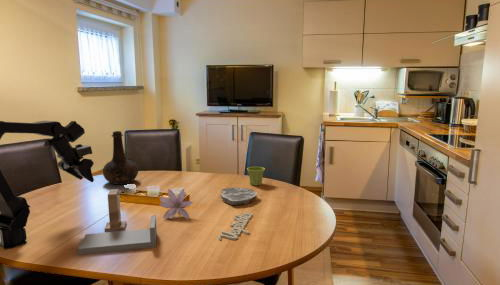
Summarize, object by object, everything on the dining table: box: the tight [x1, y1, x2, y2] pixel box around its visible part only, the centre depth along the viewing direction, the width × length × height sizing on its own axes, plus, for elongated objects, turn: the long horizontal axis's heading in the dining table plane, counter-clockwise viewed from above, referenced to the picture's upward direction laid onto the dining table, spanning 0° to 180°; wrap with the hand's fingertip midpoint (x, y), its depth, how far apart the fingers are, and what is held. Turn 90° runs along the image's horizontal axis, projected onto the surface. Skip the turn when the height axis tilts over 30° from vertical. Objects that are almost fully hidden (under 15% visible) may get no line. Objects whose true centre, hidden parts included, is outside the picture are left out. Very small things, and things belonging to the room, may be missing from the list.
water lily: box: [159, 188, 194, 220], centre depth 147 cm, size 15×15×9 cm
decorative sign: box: [217, 212, 253, 241], centre depth 136 cm, size 26×1×10 cm
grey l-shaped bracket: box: [77, 214, 158, 256], centre depth 121 cm, size 24×11×7 cm, turn 103°
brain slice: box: [220, 187, 258, 206], centre depth 167 cm, size 20×17×3 cm
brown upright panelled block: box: [104, 188, 127, 233], centre depth 133 cm, size 6×7×14 cm
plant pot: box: [246, 166, 266, 187], centre depth 189 cm, size 9×9×9 cm
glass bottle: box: [102, 130, 139, 185], centre depth 190 cm, size 18×18×28 cm
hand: (87, 180), depth 143 cm, fingers open, 9 cm apart
